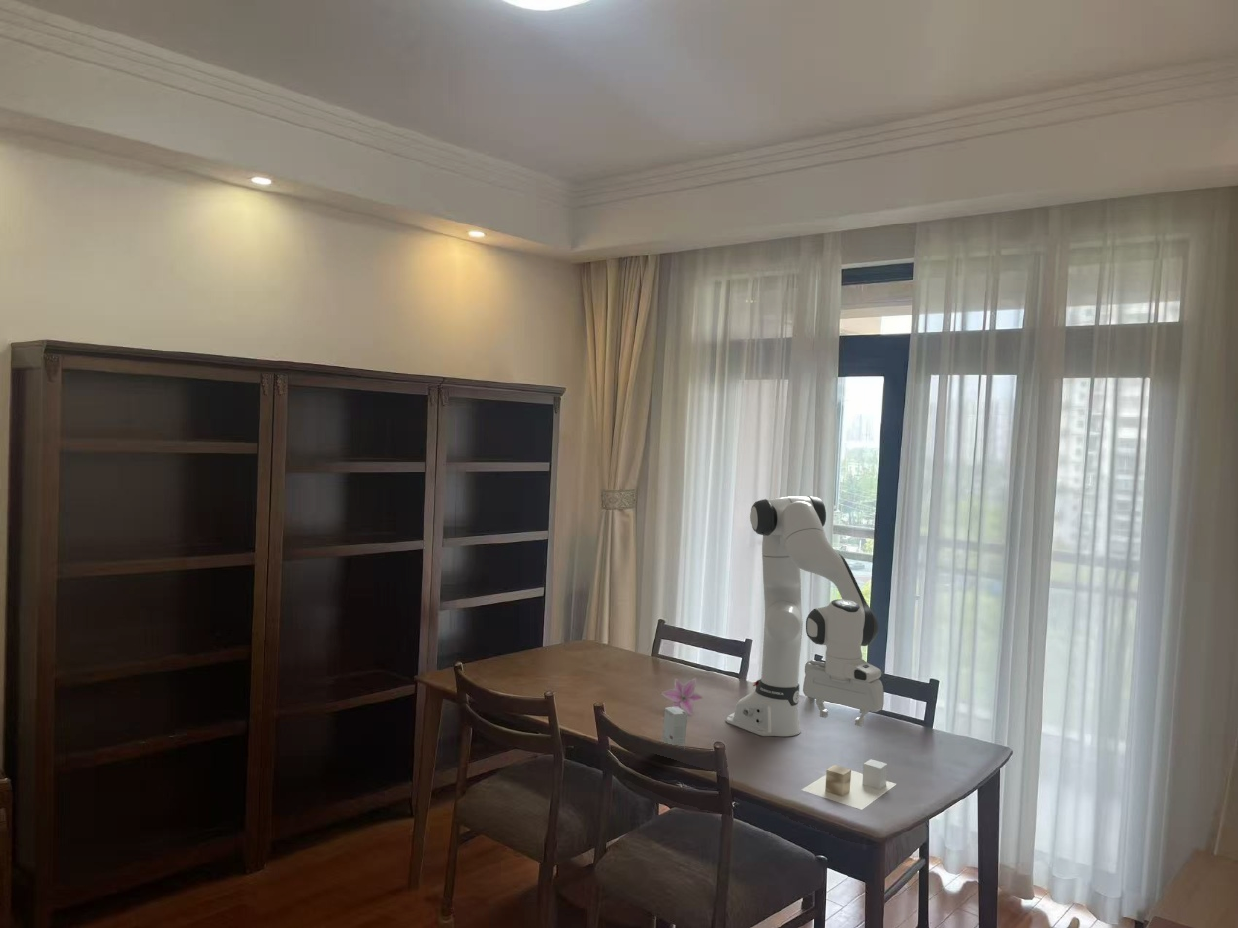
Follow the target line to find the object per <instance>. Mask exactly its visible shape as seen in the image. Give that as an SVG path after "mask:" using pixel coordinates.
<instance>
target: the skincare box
mask: <svg viewBox="0 0 1238 928" xmlns="http://www.w3.org/2000/svg"><path fill="white" fill-rule="evenodd" d="M688 715H689V714H688V713H687V712H686V711H685V710H684V709H683V708H679V707H678V706H676V707H672V706H668V707H665V708H664V716H663V727H662V740H661V743H662V742H664V743H668V744H672V745H678V746H684V747H685V745H686V737H687V736H686V734H687V726H688V725H687V724H688Z"/></svg>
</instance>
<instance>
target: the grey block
mask: <svg viewBox="0 0 1238 928" xmlns="http://www.w3.org/2000/svg"><path fill="white" fill-rule="evenodd" d="M862 768H863V769H862V774H863V781H862V785H865V786H868V787H871V788H874V789H877V790H880V789H881V788H883V787H884V786H885V785H886V781H887V777H888V776H887V774H888V763H886V762H882V761H879V760H875V759H871V758H870V759H868V760H867V761H866V762H864V763H863V767H862Z"/></svg>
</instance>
